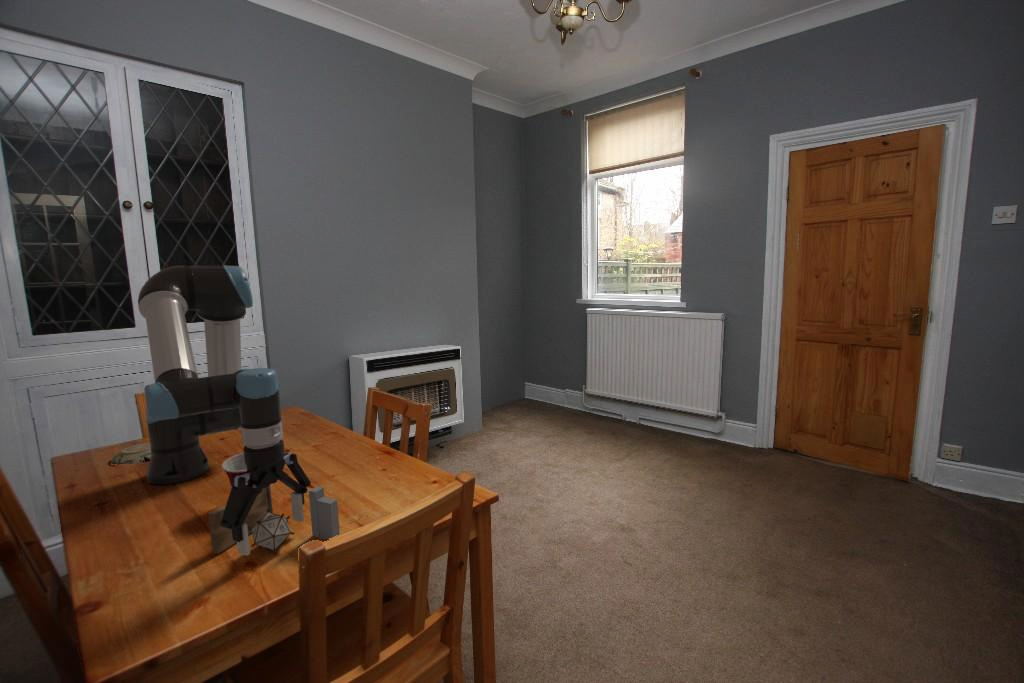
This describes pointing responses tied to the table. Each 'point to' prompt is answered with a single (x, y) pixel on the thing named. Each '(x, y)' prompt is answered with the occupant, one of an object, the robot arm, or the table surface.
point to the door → (223, 535)
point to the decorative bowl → (132, 454)
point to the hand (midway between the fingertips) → (272, 535)
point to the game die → (270, 531)
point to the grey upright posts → (323, 514)
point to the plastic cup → (235, 466)
